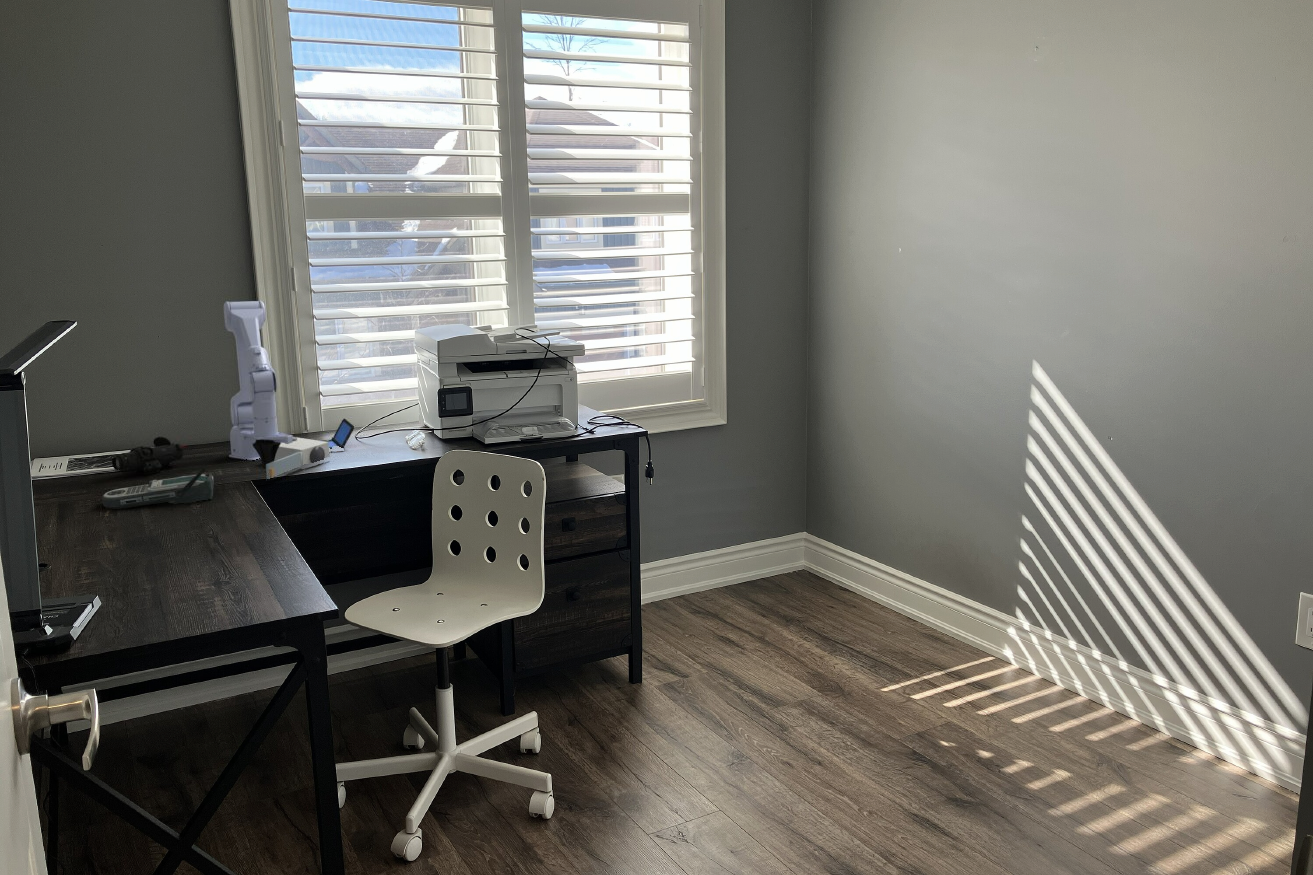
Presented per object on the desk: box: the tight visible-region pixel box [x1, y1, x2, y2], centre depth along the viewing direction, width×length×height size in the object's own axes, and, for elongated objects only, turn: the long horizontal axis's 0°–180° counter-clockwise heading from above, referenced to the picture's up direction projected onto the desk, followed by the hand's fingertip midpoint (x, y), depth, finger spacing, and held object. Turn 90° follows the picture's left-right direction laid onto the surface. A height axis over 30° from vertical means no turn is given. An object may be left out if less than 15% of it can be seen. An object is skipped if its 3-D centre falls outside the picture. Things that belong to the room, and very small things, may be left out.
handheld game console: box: [321, 418, 355, 449], centre depth 287 cm, size 12×11×7 cm
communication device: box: [101, 467, 215, 510], centre depth 234 cm, size 12×24×9 cm, turn 112°
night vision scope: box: [111, 436, 187, 476], centre depth 259 cm, size 8×18×10 cm
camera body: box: [274, 436, 331, 465], centre depth 270 cm, size 15×10×6 cm
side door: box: [265, 452, 303, 480], centre depth 256 cm, size 14×2×4 cm, turn 164°
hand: (268, 467), depth 256 cm, fingers closed
